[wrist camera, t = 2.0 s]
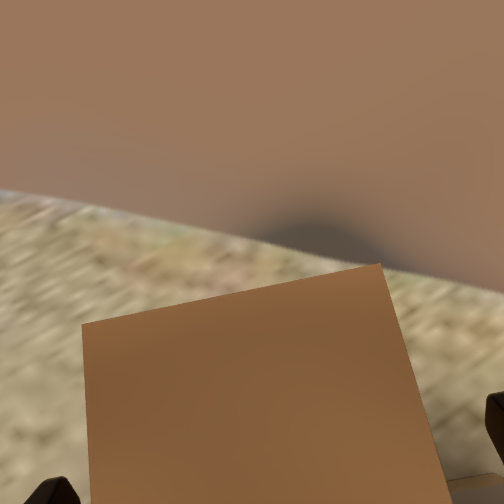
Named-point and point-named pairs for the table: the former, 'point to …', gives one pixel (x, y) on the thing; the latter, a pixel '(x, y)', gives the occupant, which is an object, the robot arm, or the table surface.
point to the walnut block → (260, 400)
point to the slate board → (477, 490)
